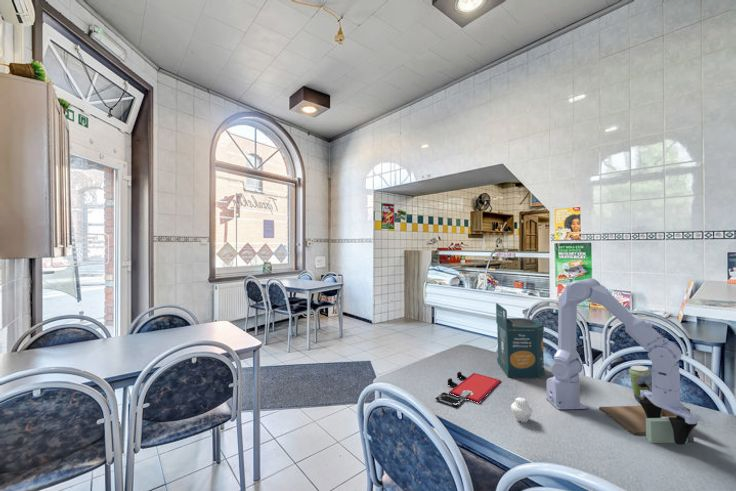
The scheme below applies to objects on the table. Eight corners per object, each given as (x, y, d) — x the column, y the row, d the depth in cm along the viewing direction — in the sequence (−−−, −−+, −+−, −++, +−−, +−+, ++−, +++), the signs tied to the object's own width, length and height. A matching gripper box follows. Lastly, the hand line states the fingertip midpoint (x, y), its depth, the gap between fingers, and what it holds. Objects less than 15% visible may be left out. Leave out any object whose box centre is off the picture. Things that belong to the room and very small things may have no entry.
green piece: (651, 443, 87) (651, 421, 87) (645, 439, 89) (645, 417, 89) (695, 442, 87) (695, 420, 87) (688, 438, 89) (688, 416, 89)
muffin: (524, 427, 96) (523, 404, 96) (506, 417, 101) (506, 396, 101) (537, 421, 99) (536, 399, 99) (519, 412, 104) (519, 391, 104)
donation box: (497, 362, 147) (495, 302, 147) (534, 363, 145) (532, 302, 145) (507, 377, 131) (506, 310, 131) (549, 378, 129) (547, 310, 129)
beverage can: (662, 407, 105) (661, 371, 105) (636, 405, 106) (636, 370, 106) (649, 398, 111) (648, 364, 111) (625, 396, 113) (624, 363, 112)
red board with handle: (430, 399, 115) (469, 414, 105) (430, 391, 115) (469, 405, 105) (465, 373, 137) (500, 383, 127) (465, 367, 137) (500, 376, 127)
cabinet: (634, 434, 91) (633, 410, 91) (599, 409, 105) (598, 388, 105) (690, 433, 91) (689, 409, 91) (647, 408, 105) (647, 387, 105)
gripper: (708, 399, 80) (709, 452, 81) (656, 375, 95) (657, 420, 95) (680, 399, 80) (681, 452, 81) (632, 375, 95) (633, 420, 95)
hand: (666, 435), depth 88 cm, fingers open, 7 cm apart
